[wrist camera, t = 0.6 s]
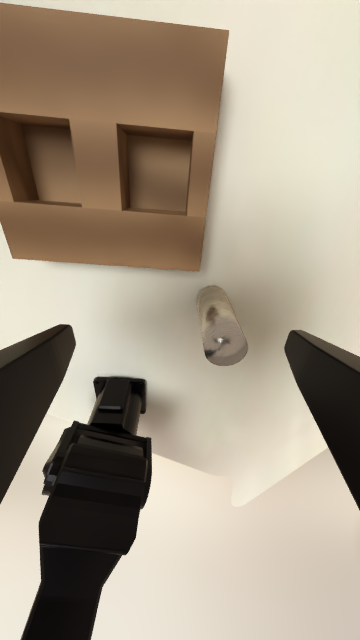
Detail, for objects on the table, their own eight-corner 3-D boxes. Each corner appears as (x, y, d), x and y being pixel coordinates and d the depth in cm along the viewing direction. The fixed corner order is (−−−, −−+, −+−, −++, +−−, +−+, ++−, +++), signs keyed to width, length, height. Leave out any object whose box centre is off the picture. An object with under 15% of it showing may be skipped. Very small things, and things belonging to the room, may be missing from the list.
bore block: (196, 258, 20) (199, 271, 17) (38, 247, 19) (12, 258, 16) (217, 65, 13) (229, 30, 10) (-17, 39, 13) (-76, -7, 10)
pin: (223, 313, 23) (242, 367, 16) (194, 311, 22) (202, 365, 16) (228, 286, 21) (252, 333, 14) (198, 284, 21) (207, 331, 14)
